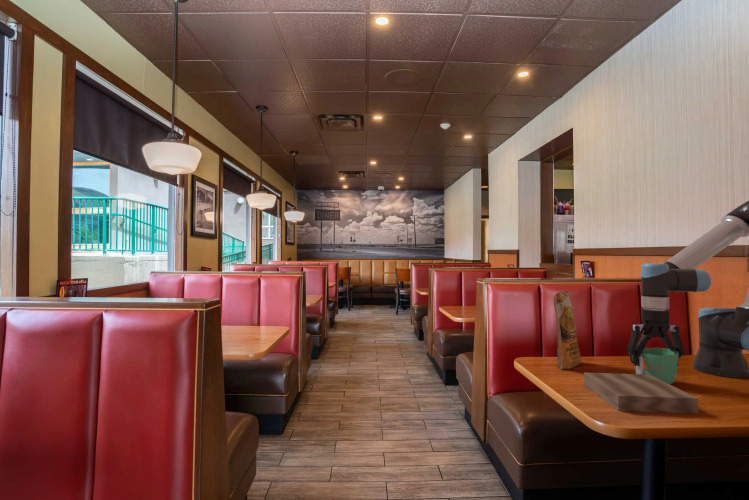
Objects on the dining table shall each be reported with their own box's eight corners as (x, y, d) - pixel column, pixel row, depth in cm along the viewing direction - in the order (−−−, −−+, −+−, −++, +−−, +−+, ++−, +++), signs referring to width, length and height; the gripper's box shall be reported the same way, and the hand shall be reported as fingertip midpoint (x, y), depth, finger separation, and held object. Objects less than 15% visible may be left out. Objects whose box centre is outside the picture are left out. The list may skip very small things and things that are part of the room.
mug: (689, 382, 120) (684, 350, 121) (672, 389, 116) (668, 357, 117) (640, 372, 134) (636, 344, 134) (624, 378, 129) (620, 349, 130)
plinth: (649, 387, 119) (649, 374, 119) (698, 413, 99) (698, 398, 99) (584, 385, 120) (583, 372, 121) (618, 410, 101) (618, 395, 101)
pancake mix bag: (547, 367, 139) (547, 292, 140) (567, 358, 152) (567, 289, 152) (566, 372, 134) (565, 294, 135) (585, 362, 147) (585, 290, 147)
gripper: (682, 307, 128) (683, 373, 128) (614, 307, 130) (614, 371, 130) (699, 311, 120) (700, 380, 120) (626, 310, 123) (627, 378, 122)
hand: (655, 375), depth 125 cm, fingers closed on mug, 10 cm apart
